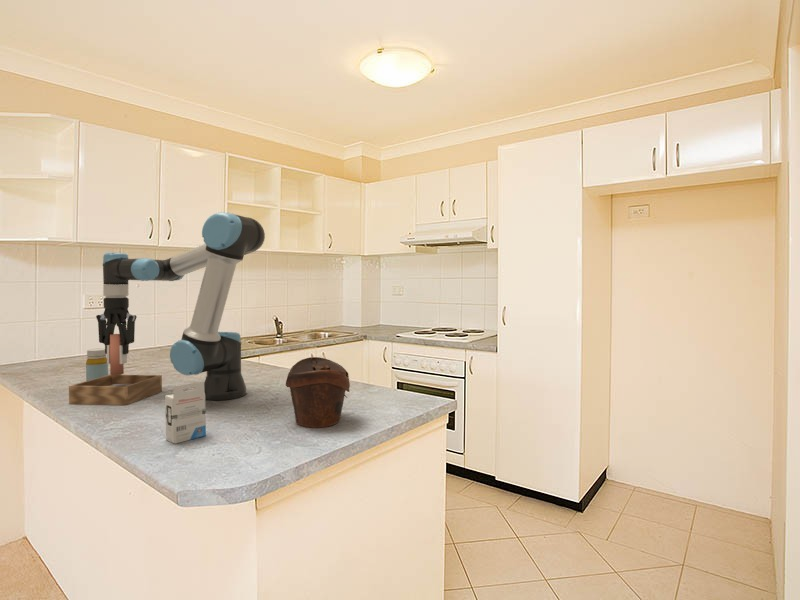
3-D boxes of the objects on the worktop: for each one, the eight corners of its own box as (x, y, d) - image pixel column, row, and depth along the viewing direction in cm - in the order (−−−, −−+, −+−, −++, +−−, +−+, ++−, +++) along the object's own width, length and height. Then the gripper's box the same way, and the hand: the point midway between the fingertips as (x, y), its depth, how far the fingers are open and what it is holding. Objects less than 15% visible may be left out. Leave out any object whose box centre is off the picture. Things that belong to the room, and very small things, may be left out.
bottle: (97, 391, 171) (96, 351, 171) (81, 390, 173) (81, 350, 172) (112, 387, 178) (112, 348, 178) (97, 386, 180) (96, 348, 179)
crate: (162, 391, 172) (161, 375, 171) (126, 405, 152) (125, 387, 151) (111, 390, 173) (110, 374, 173) (69, 403, 153) (68, 386, 153)
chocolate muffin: (324, 435, 121) (324, 368, 121) (271, 424, 132) (271, 361, 132) (364, 420, 136) (365, 360, 136) (314, 410, 147) (314, 354, 147)
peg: (126, 372, 164) (125, 333, 163) (118, 375, 160) (118, 335, 159) (115, 372, 164) (115, 333, 164) (107, 374, 160) (107, 334, 160)
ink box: (197, 432, 125) (196, 378, 124) (206, 435, 122) (205, 380, 121) (165, 440, 118) (164, 383, 118) (173, 444, 115) (172, 386, 114)
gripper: (146, 297, 164) (146, 362, 165) (101, 296, 165) (101, 360, 166) (132, 297, 157) (132, 365, 158) (85, 297, 158) (86, 364, 159)
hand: (117, 363), depth 162 cm, fingers closed on peg, 4 cm apart
